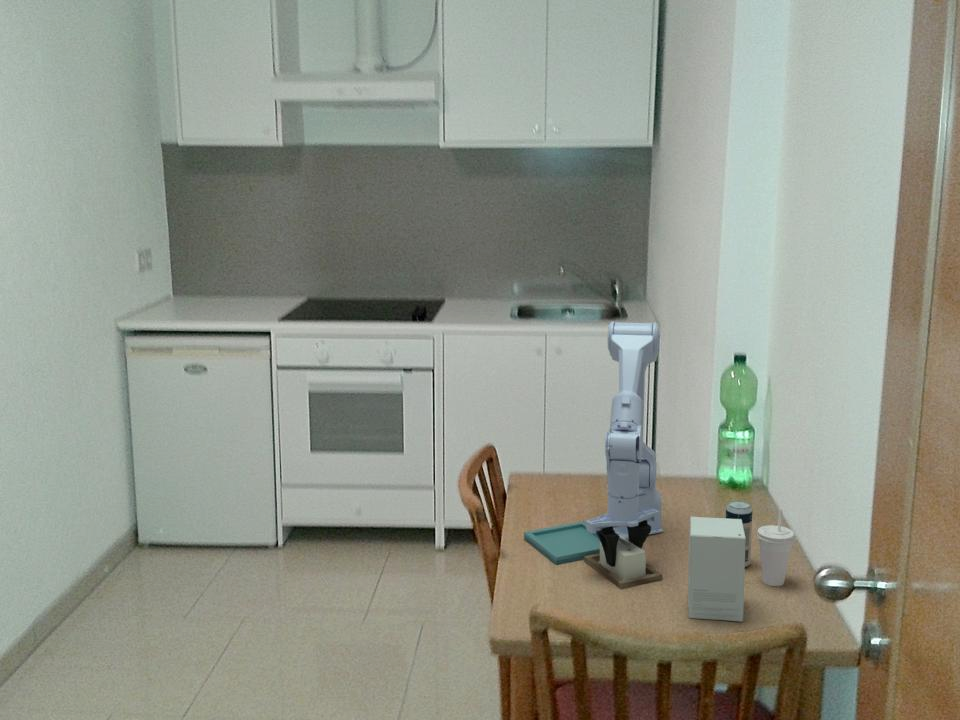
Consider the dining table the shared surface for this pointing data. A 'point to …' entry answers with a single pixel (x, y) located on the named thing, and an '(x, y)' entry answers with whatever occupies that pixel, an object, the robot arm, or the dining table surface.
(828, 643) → the dining table surface
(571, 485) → the dining table surface
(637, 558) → the white block with handle
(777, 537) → the smoothie
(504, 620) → the dining table surface
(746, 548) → the beer can
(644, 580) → the brown flat rectangular frame
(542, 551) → the tray
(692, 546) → the supplement box
